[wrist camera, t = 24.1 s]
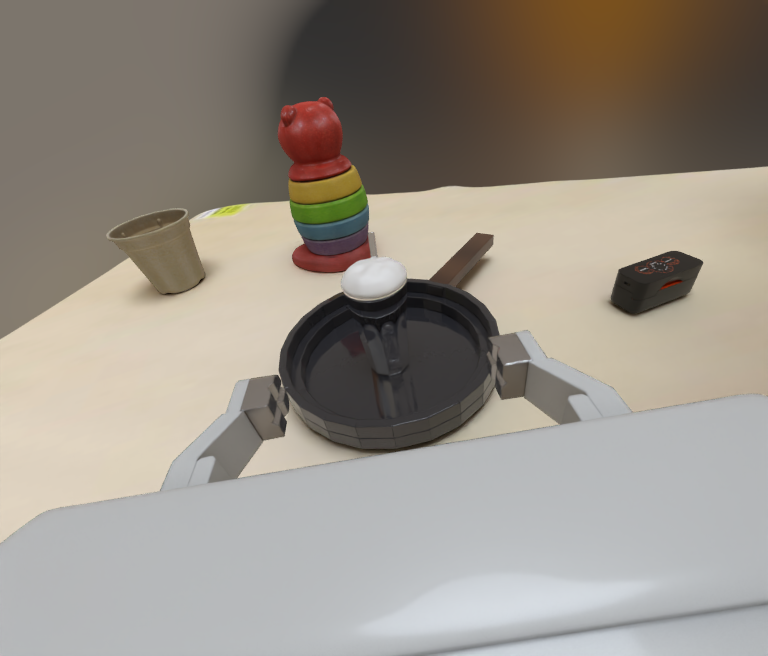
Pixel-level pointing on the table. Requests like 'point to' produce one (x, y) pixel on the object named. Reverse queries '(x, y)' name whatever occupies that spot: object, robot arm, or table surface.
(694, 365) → the table surface
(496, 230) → the table surface
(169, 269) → the flower pot
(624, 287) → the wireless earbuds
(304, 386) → the pan
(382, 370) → the milkshake
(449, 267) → the pan handle
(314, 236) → the stacking bear
